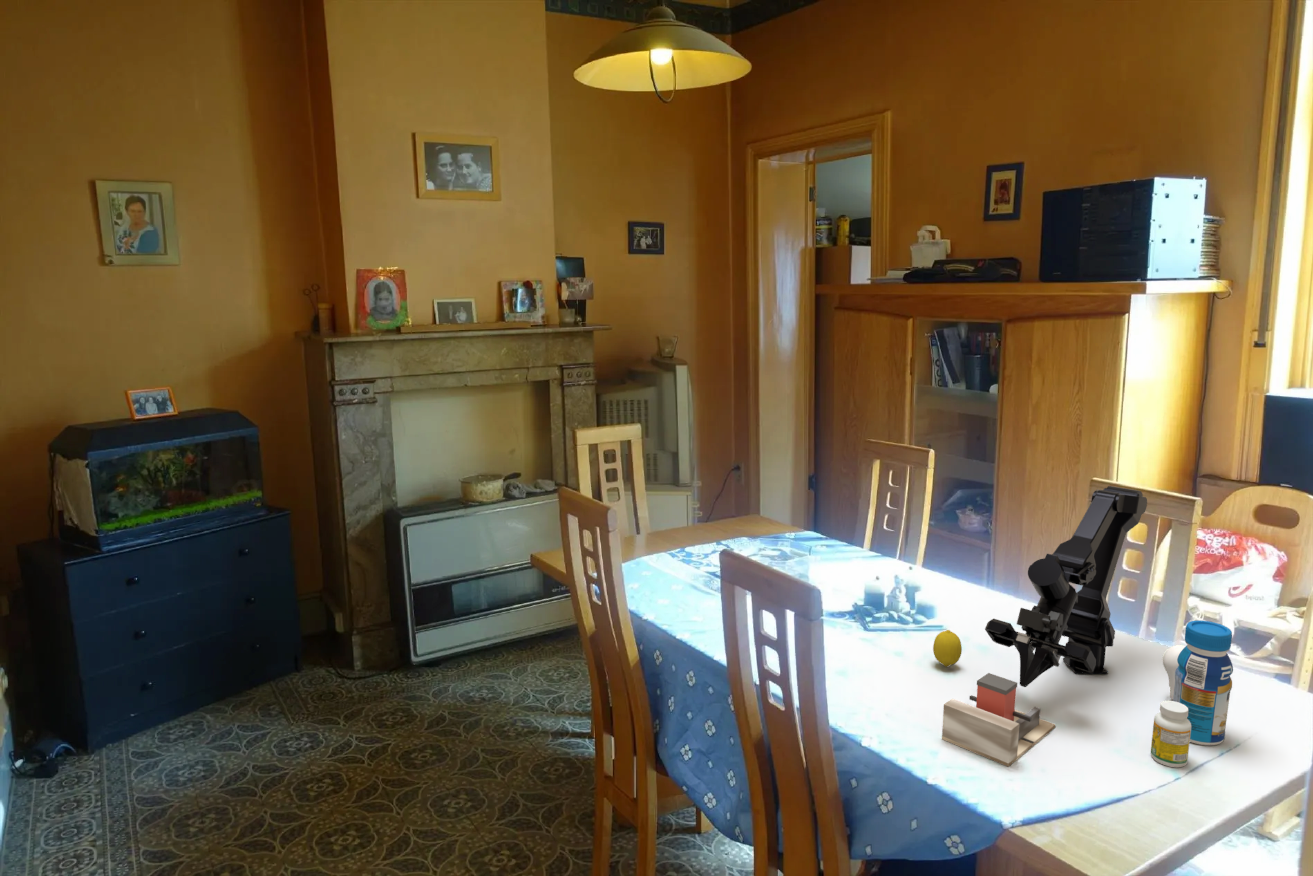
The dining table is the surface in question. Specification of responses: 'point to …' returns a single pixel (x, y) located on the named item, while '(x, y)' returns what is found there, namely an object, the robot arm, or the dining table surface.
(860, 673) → the dining table surface
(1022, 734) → the beige base board
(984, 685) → the red plug
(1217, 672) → the beverage bottle
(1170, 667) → the lightbulb
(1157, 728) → the supplement bottle
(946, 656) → the lemon
